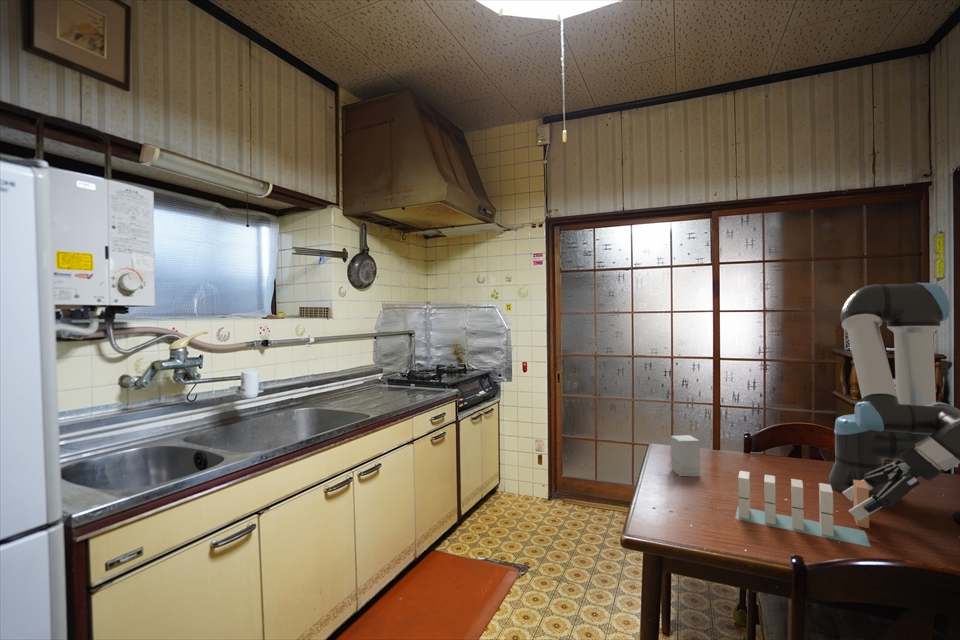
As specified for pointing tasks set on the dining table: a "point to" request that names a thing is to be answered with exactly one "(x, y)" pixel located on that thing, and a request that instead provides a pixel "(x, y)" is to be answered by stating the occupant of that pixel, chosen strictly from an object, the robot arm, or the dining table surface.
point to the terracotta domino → (861, 499)
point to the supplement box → (685, 455)
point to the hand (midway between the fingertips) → (849, 505)
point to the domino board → (809, 527)
